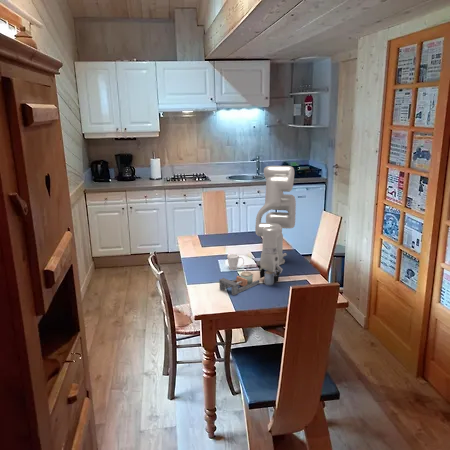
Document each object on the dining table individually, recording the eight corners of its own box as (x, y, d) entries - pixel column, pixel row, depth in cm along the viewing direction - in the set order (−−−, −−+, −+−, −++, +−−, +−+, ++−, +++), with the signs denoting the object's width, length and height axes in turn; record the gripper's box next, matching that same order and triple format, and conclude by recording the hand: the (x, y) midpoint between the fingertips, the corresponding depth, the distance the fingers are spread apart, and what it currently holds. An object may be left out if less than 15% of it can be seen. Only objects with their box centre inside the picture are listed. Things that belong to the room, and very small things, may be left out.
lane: (245, 278, 235) (245, 269, 233) (259, 283, 228) (259, 274, 226) (219, 289, 222) (219, 279, 220) (233, 295, 214) (233, 285, 213)
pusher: (237, 283, 228) (237, 276, 227) (247, 287, 223) (247, 279, 222) (224, 288, 222) (224, 281, 221) (234, 292, 217) (234, 285, 216)
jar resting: (246, 280, 233) (246, 270, 231) (255, 283, 228) (255, 273, 226) (238, 283, 228) (238, 273, 227) (246, 287, 224) (246, 276, 222)
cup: (227, 266, 253) (226, 253, 251) (243, 265, 253) (243, 253, 251) (227, 270, 246) (227, 257, 244) (244, 270, 247) (244, 257, 244)
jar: (268, 280, 232) (268, 269, 230) (275, 283, 228) (275, 271, 226) (262, 283, 228) (262, 271, 226) (269, 286, 225) (269, 274, 223)
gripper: (286, 251, 219) (286, 282, 224) (261, 244, 231) (261, 273, 236) (277, 255, 214) (277, 286, 219) (252, 247, 226) (252, 277, 231)
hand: (269, 279), depth 227 cm, fingers open, 9 cm apart
